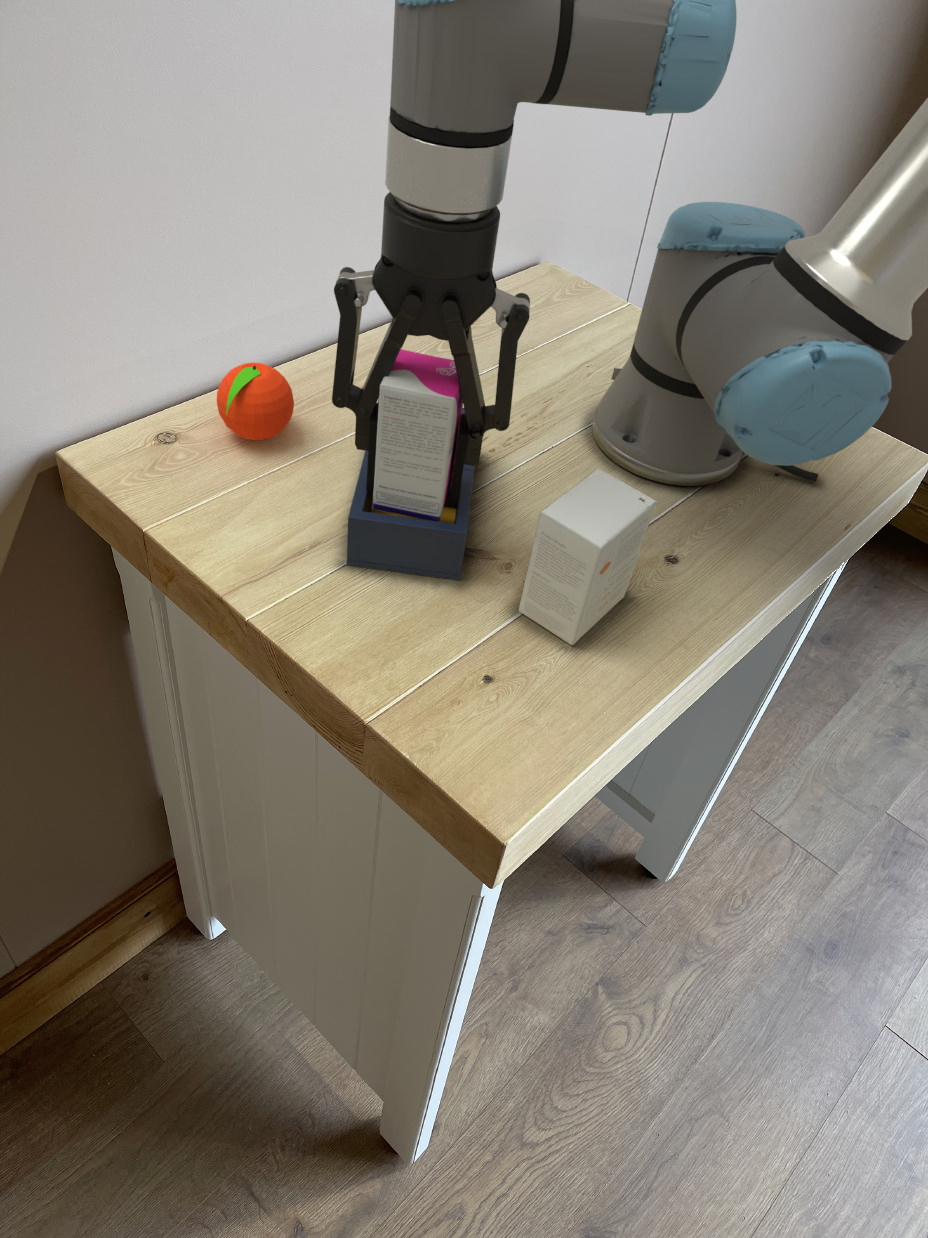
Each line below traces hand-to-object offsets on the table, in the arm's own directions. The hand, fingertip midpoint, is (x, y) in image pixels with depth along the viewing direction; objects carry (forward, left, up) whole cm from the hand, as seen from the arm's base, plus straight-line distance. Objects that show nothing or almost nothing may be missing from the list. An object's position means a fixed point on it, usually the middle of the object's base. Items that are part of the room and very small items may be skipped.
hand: (414, 486), depth 75 cm
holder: (0, -4, -5) cm, 7 cm away
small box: (-14, +6, -6) cm, 16 cm away
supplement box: (0, 0, -1) cm, 1 cm away
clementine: (+16, -11, -6) cm, 20 cm away
